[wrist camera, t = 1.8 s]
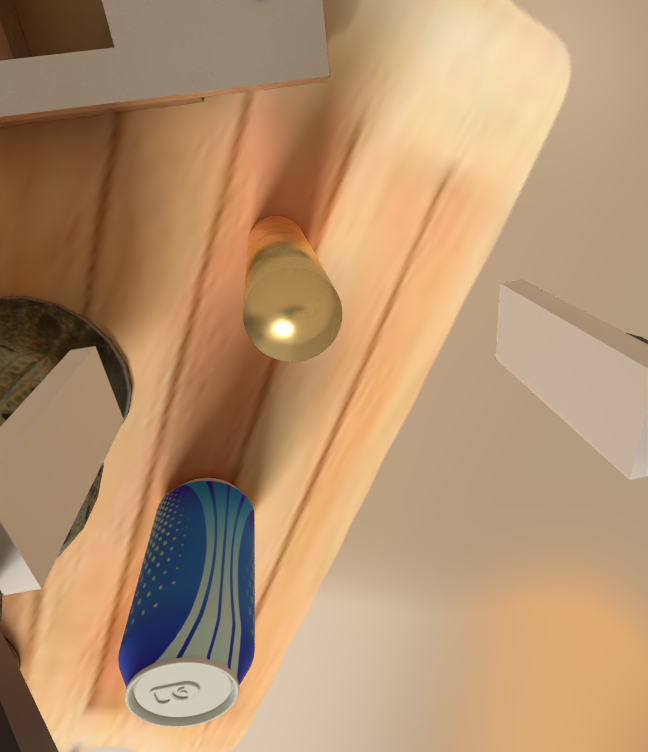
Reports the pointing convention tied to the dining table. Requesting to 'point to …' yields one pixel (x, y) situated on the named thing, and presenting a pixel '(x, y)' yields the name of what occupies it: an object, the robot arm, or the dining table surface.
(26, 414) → the robot arm
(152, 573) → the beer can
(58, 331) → the lantern
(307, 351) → the brass pin
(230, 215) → the dining table surface
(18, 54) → the grey device box
